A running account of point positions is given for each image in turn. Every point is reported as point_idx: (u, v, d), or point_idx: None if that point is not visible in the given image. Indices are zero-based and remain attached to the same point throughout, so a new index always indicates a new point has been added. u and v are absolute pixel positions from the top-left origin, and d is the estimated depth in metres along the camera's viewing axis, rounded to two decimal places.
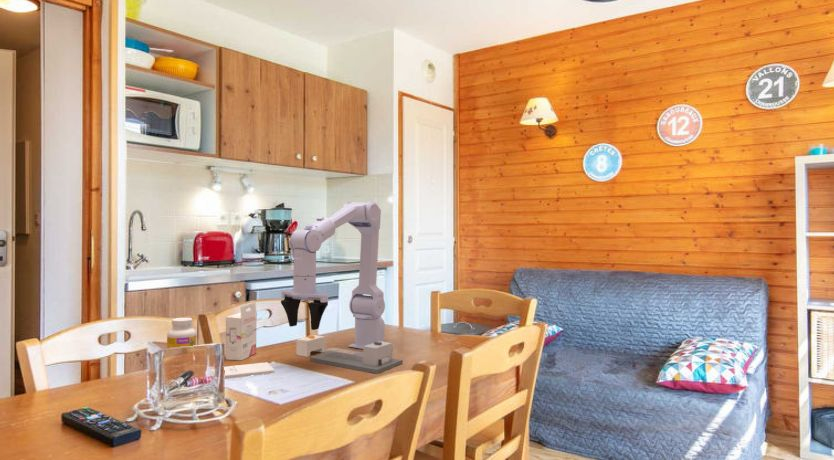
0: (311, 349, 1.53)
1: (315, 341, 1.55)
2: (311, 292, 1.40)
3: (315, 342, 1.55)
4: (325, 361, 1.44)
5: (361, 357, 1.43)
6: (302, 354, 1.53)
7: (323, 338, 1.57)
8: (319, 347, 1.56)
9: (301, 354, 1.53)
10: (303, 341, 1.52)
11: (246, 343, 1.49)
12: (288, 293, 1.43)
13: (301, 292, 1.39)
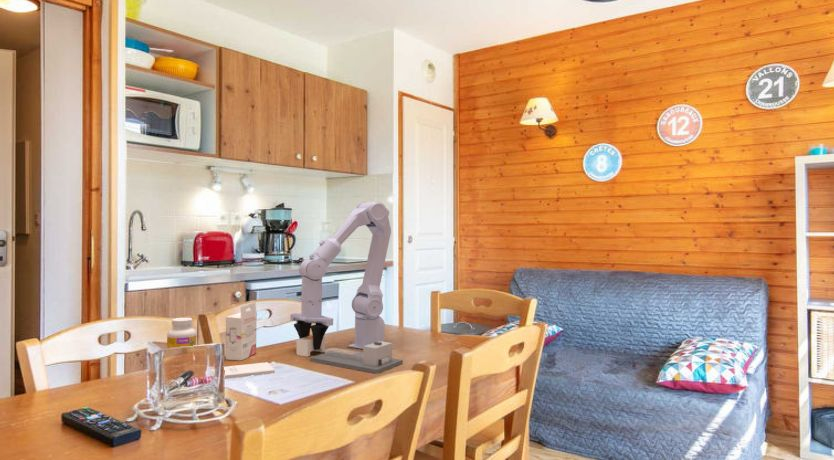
0: (311, 349, 1.53)
1: None
2: (317, 316, 1.54)
3: None
4: (325, 361, 1.44)
5: (361, 357, 1.43)
6: (302, 354, 1.53)
7: (323, 338, 1.57)
8: None
9: (301, 354, 1.53)
10: (303, 341, 1.52)
11: (246, 343, 1.49)
12: (296, 317, 1.56)
13: (308, 316, 1.53)
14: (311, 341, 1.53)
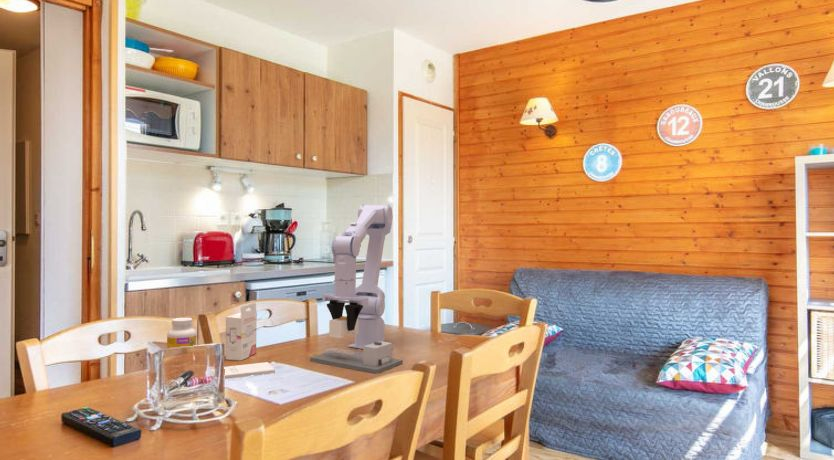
0: (345, 330, 1.46)
1: None
2: (352, 295, 1.47)
3: None
4: (325, 361, 1.44)
5: (361, 357, 1.43)
6: (335, 335, 1.45)
7: None
8: None
9: (334, 335, 1.45)
10: (336, 322, 1.45)
11: (246, 343, 1.49)
12: (329, 297, 1.49)
13: (342, 295, 1.46)
14: (345, 322, 1.46)
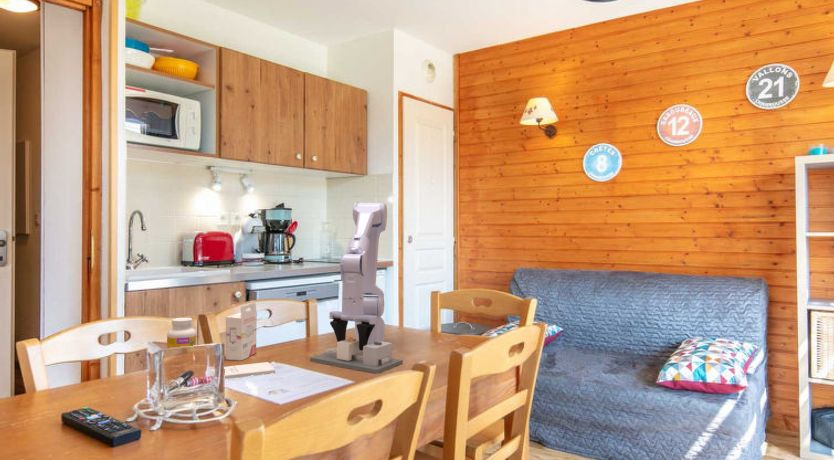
0: (352, 352, 1.44)
1: (357, 344, 1.46)
2: (359, 314, 1.45)
3: (356, 345, 1.46)
4: (325, 361, 1.44)
5: (361, 357, 1.43)
6: (343, 358, 1.44)
7: None
8: (360, 350, 1.47)
9: (342, 358, 1.44)
10: (344, 344, 1.43)
11: (246, 343, 1.49)
12: (336, 315, 1.48)
13: (350, 314, 1.44)
14: (352, 344, 1.44)
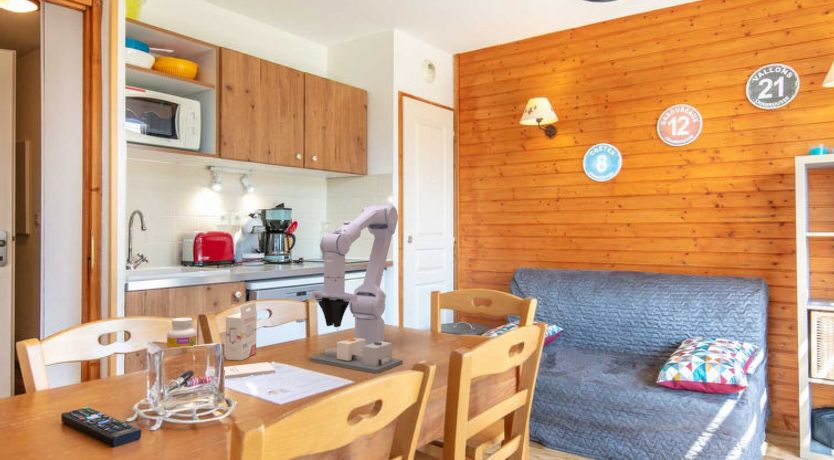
0: (352, 352, 1.44)
1: (357, 344, 1.46)
2: (341, 293, 1.48)
3: (356, 345, 1.46)
4: (325, 361, 1.44)
5: (361, 357, 1.43)
6: (343, 358, 1.44)
7: (364, 341, 1.49)
8: (360, 350, 1.47)
9: (342, 358, 1.44)
10: (344, 344, 1.43)
11: (246, 343, 1.49)
12: (318, 294, 1.51)
13: (331, 292, 1.47)
14: (352, 344, 1.44)
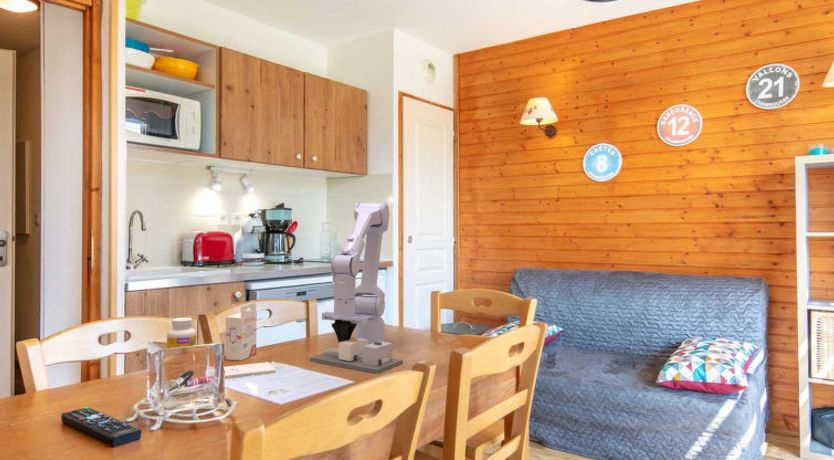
0: (354, 353, 1.44)
1: (358, 344, 1.45)
2: (351, 315, 1.47)
3: (358, 346, 1.45)
4: (325, 361, 1.44)
5: (361, 357, 1.43)
6: (345, 358, 1.43)
7: (366, 341, 1.48)
8: (362, 351, 1.47)
9: (344, 358, 1.43)
10: (346, 344, 1.43)
11: (246, 343, 1.49)
12: (328, 316, 1.49)
13: (342, 315, 1.46)
14: (354, 344, 1.44)
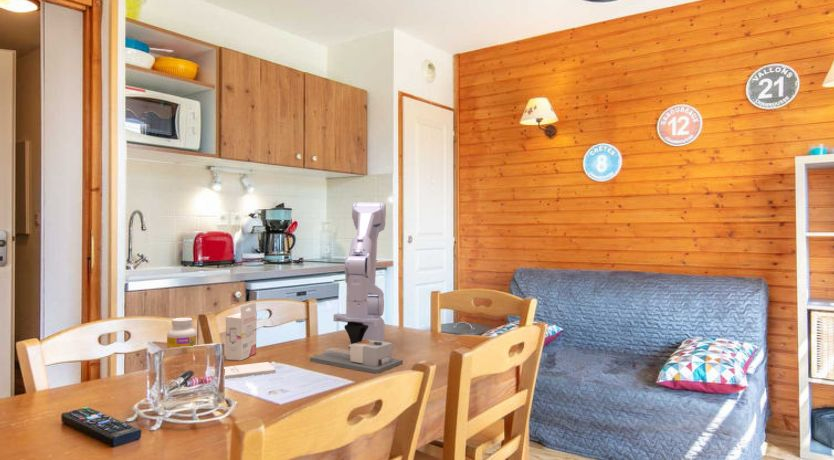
0: None
1: None
2: (364, 316, 1.44)
3: None
4: (325, 361, 1.44)
5: None
6: (357, 360, 1.41)
7: None
8: None
9: (355, 360, 1.41)
10: (358, 346, 1.41)
11: (246, 343, 1.49)
12: (340, 317, 1.47)
13: (354, 316, 1.43)
14: None
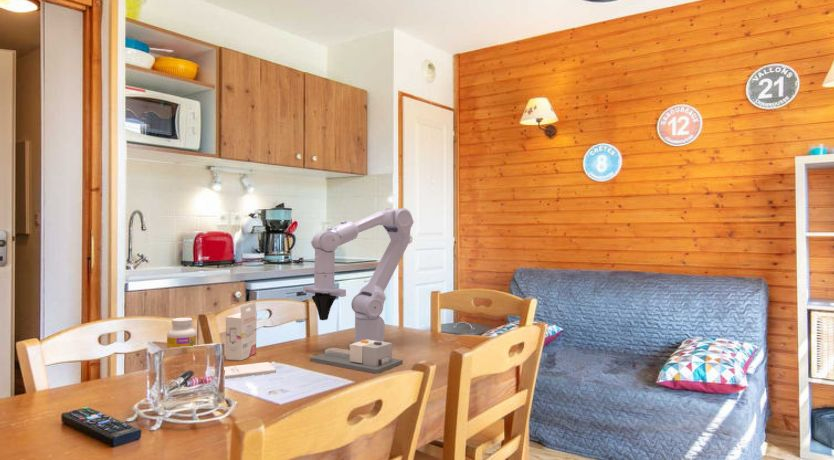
0: None
1: None
2: (330, 287, 1.55)
3: None
4: (325, 361, 1.44)
5: None
6: (356, 360, 1.41)
7: None
8: None
9: (355, 360, 1.42)
10: (357, 346, 1.41)
11: (246, 343, 1.49)
12: (309, 289, 1.58)
13: (321, 287, 1.54)
14: None
